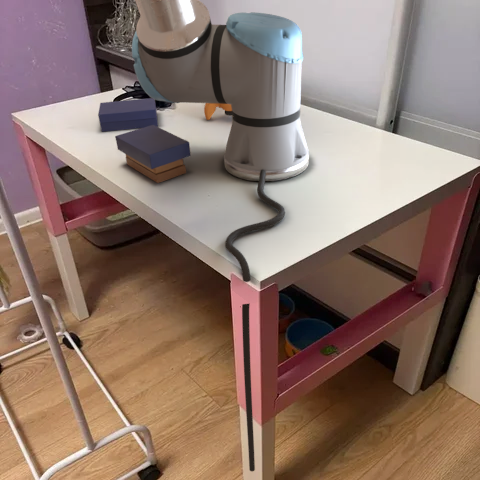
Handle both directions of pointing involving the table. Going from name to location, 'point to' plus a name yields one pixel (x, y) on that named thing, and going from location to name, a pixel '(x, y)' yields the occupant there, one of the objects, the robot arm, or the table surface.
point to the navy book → (153, 146)
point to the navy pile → (127, 114)
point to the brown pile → (158, 169)
